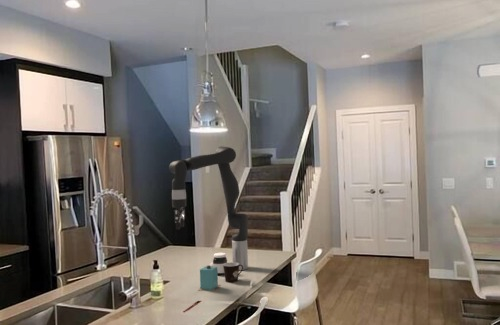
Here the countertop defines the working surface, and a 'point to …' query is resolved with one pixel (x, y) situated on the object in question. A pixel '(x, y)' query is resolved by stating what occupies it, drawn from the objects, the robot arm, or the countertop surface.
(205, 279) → the teal rectangular block
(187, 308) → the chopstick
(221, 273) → the spread jar
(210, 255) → the countertop surface
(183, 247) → the countertop surface
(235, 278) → the coffee mug
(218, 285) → the walnut board
